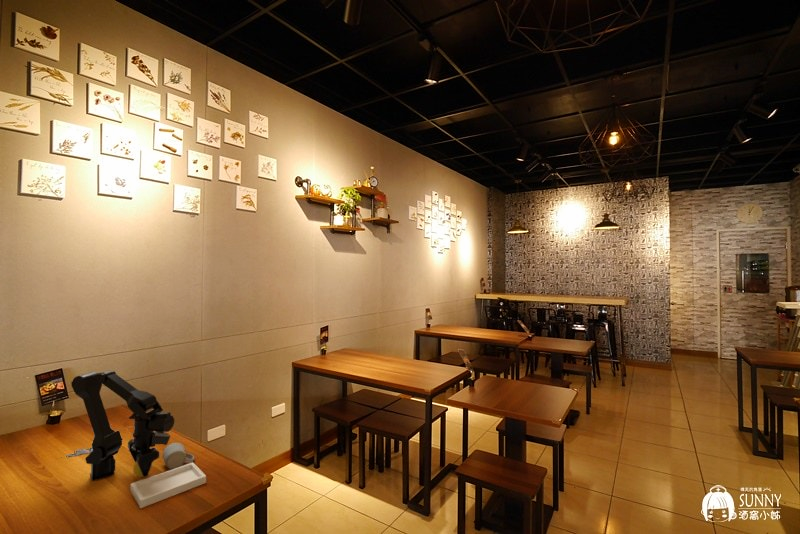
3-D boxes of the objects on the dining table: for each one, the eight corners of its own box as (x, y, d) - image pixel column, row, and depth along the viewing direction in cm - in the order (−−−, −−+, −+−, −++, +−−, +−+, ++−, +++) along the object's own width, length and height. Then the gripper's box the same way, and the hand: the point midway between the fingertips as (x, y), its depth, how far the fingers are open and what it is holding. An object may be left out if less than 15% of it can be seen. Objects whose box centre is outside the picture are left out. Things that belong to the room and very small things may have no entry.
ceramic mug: (165, 473, 139) (165, 452, 139) (162, 464, 145) (162, 445, 145) (196, 464, 146) (196, 445, 146) (191, 456, 152) (192, 437, 152)
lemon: (139, 473, 138) (139, 452, 138) (154, 473, 139) (155, 452, 139) (129, 481, 133) (130, 459, 133) (145, 481, 133) (146, 459, 133)
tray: (140, 508, 118) (140, 500, 118) (130, 490, 127) (130, 483, 127) (206, 482, 132) (206, 475, 132) (192, 468, 142) (192, 462, 142)
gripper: (175, 430, 136) (174, 472, 135) (161, 417, 148) (160, 455, 148) (139, 440, 127) (138, 485, 127) (128, 425, 140) (126, 466, 140)
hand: (142, 471), depth 136 cm, fingers open, 9 cm apart
